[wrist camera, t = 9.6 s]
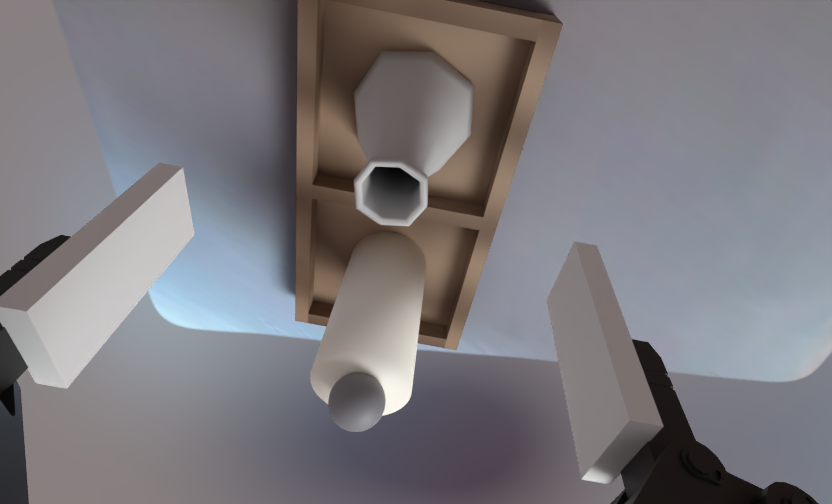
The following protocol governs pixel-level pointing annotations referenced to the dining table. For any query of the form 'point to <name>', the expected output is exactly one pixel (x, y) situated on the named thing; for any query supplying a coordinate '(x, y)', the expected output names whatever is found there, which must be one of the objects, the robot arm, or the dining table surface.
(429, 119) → the flask
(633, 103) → the dining table surface
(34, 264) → the robot arm
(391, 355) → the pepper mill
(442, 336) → the tray
